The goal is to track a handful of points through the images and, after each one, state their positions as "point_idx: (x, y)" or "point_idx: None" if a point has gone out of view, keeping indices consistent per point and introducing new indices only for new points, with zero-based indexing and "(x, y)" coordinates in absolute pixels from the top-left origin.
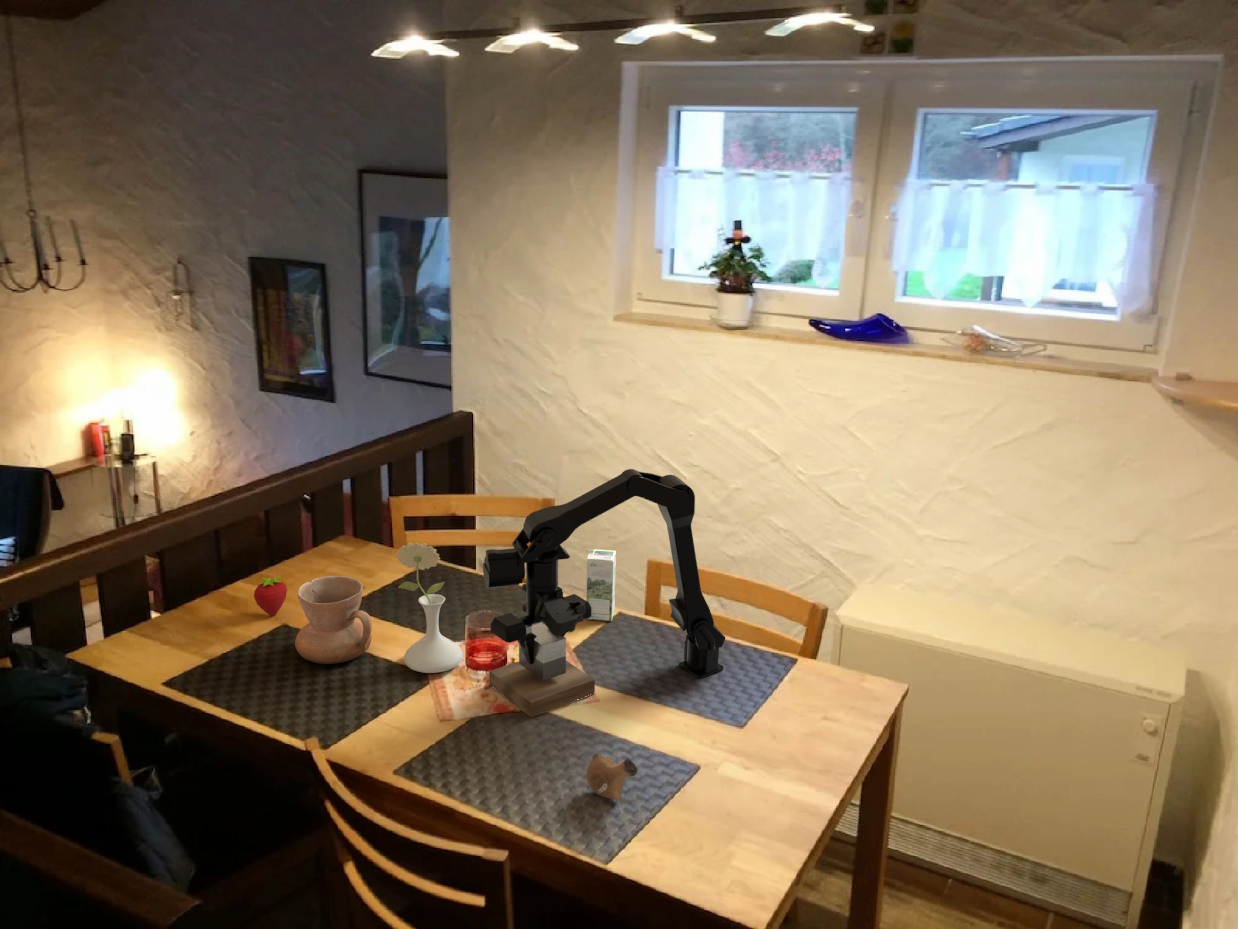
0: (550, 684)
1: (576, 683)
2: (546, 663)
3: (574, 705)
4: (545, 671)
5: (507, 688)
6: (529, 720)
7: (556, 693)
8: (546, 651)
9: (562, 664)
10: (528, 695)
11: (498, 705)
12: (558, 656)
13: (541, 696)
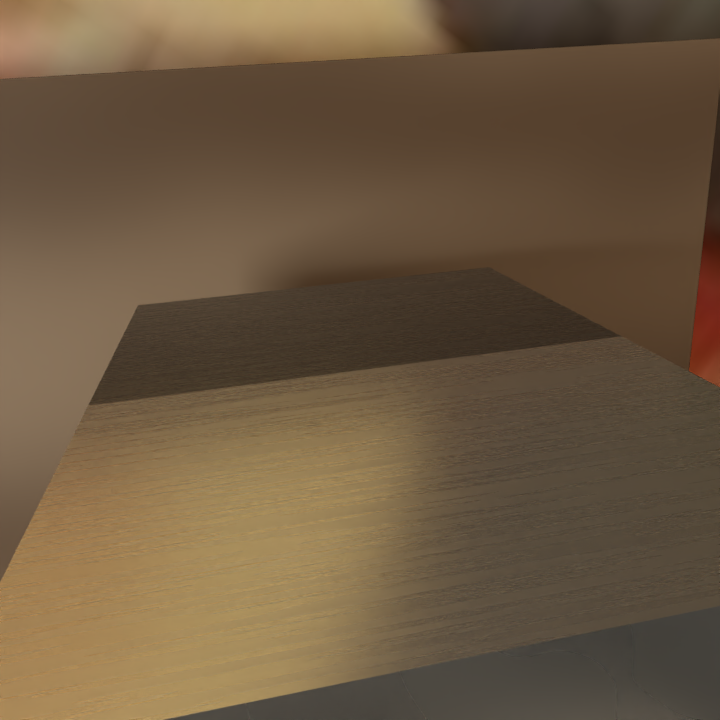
0: (352, 279)
1: (59, 141)
2: (539, 342)
3: (178, 22)
4: (501, 301)
5: None
6: (654, 26)
7: (398, 58)
8: (712, 443)
9: (188, 341)
10: (661, 187)
11: (692, 361)
12: (285, 395)
13: (572, 92)
